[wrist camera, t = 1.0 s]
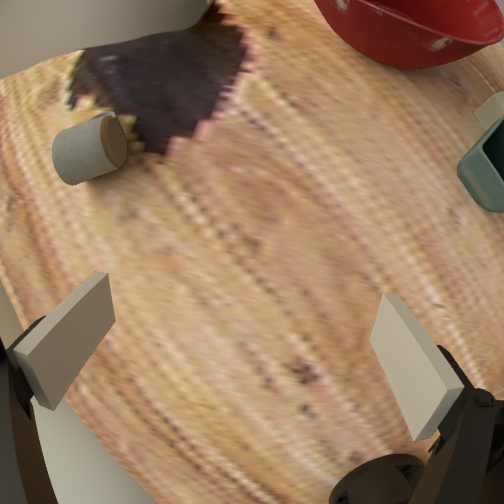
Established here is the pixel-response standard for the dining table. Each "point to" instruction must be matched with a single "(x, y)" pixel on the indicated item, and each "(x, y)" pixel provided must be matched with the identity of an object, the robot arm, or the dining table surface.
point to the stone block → (490, 110)
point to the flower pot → (486, 168)
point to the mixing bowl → (415, 28)
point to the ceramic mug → (90, 149)
